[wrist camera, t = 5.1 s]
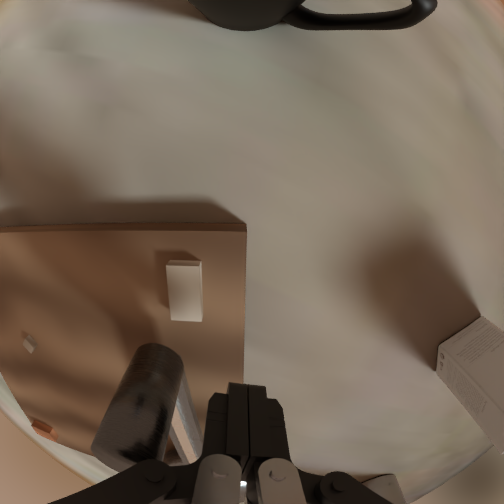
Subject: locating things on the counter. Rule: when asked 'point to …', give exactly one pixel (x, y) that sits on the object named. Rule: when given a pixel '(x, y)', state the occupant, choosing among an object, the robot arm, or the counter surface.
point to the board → (116, 314)
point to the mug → (306, 15)
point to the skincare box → (477, 375)
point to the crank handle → (151, 414)
